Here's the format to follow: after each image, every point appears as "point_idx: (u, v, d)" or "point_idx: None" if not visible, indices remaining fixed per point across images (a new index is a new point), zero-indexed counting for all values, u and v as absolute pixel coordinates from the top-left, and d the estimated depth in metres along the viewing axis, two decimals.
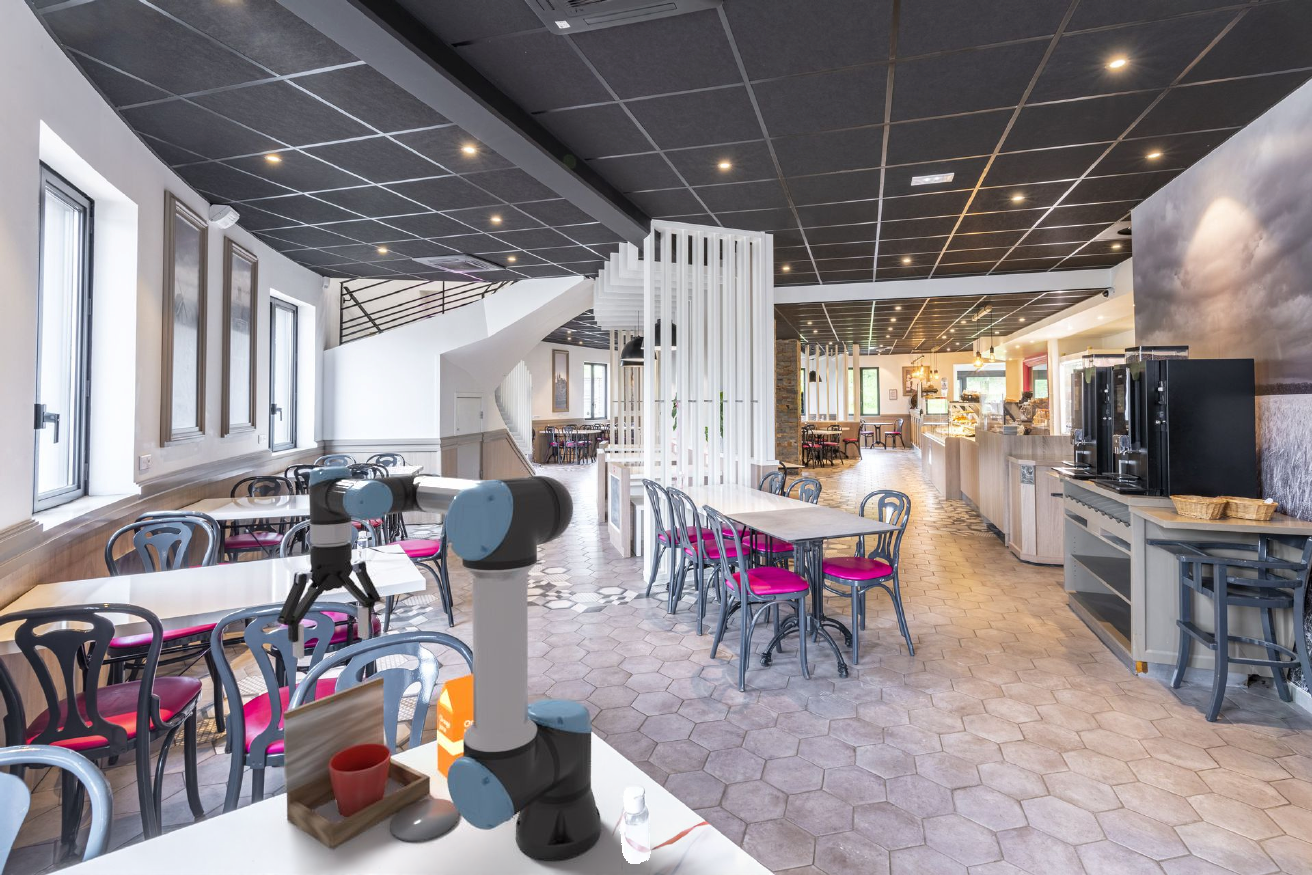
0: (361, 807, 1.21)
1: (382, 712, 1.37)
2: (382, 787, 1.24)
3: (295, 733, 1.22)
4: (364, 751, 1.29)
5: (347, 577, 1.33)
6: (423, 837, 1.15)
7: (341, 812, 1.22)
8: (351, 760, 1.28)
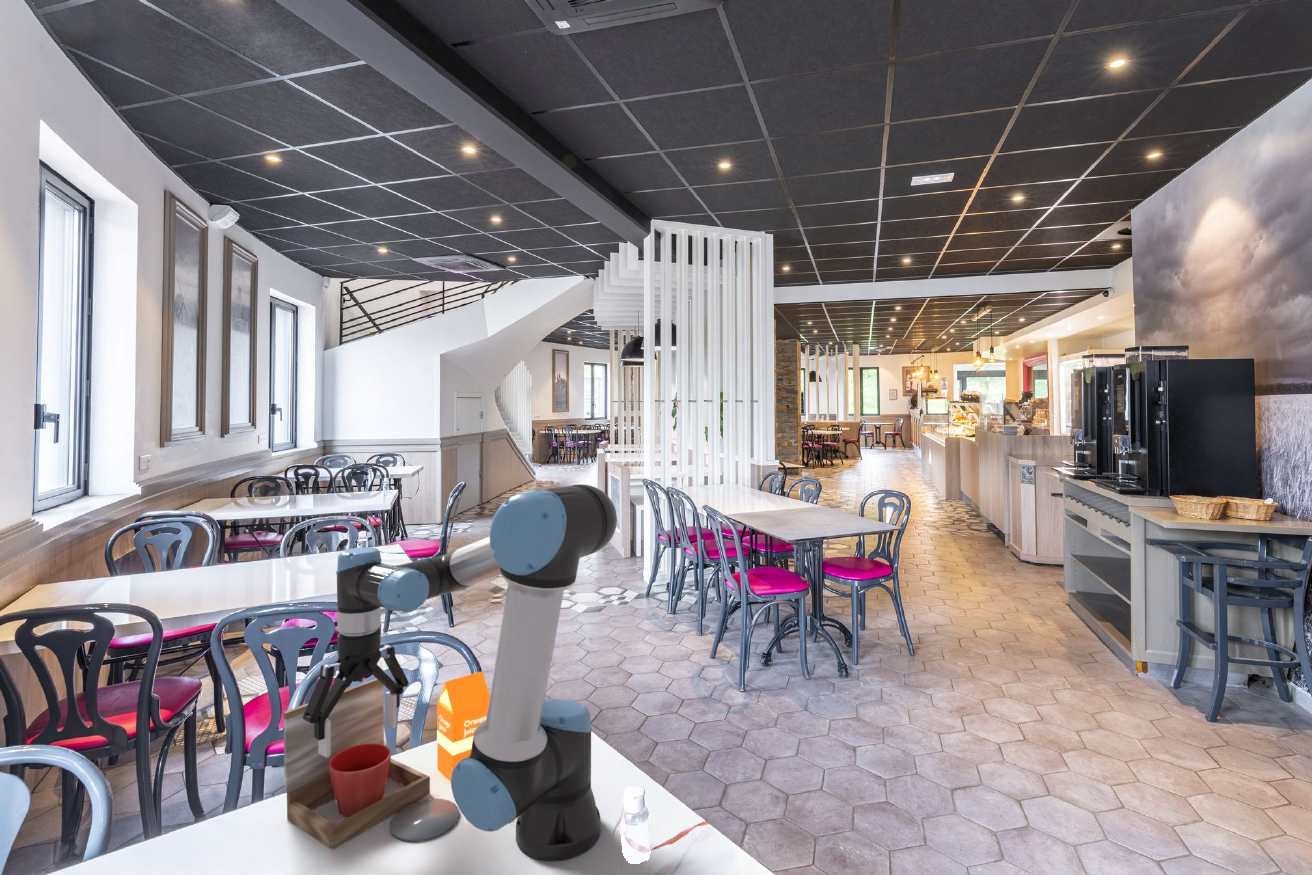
0: (361, 807, 1.21)
1: (382, 712, 1.37)
2: (382, 787, 1.24)
3: (295, 733, 1.22)
4: (364, 751, 1.29)
5: (375, 665, 1.25)
6: (423, 837, 1.15)
7: (341, 812, 1.22)
8: (351, 760, 1.28)
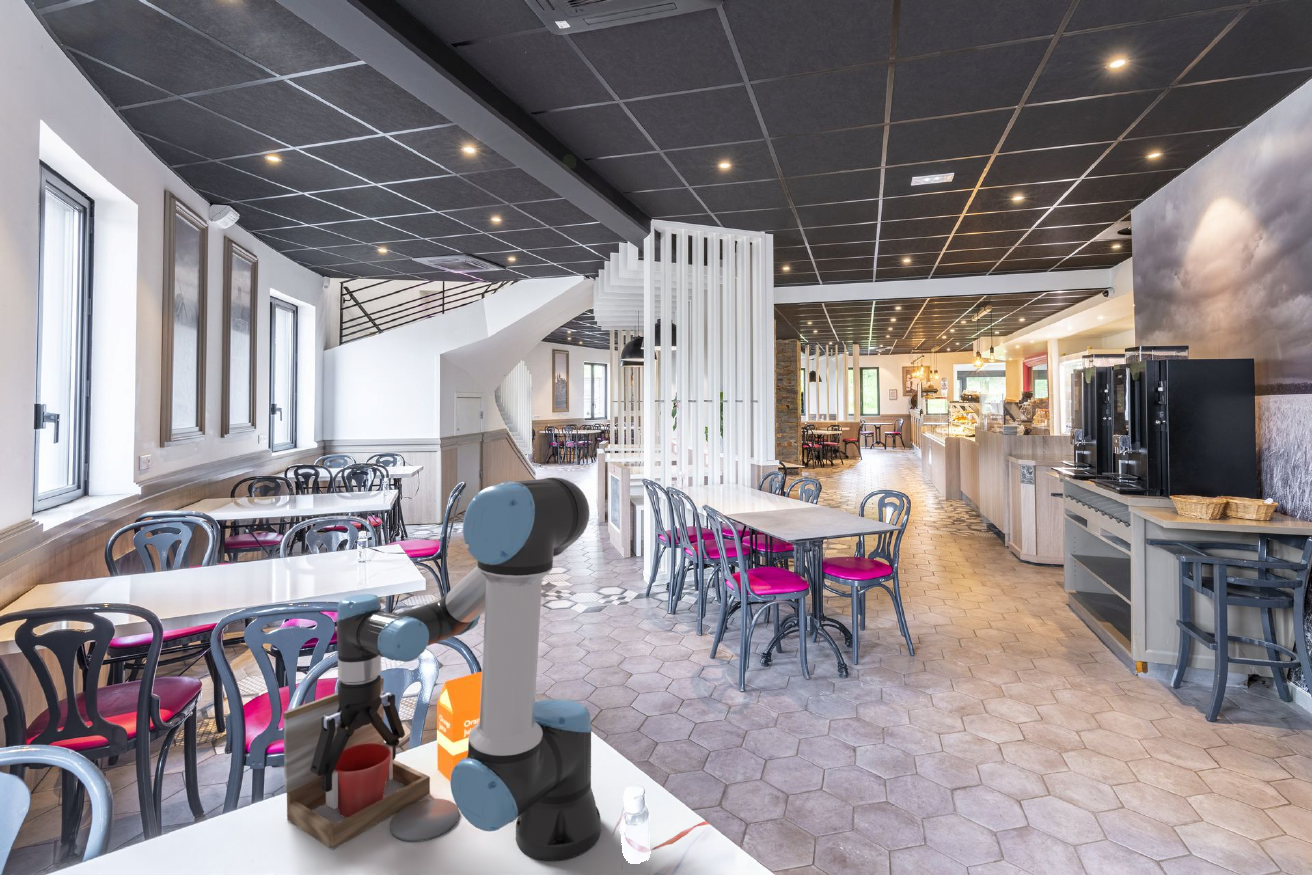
0: (361, 807, 1.21)
1: (382, 712, 1.37)
2: (382, 787, 1.24)
3: (295, 733, 1.22)
4: (364, 751, 1.29)
5: (376, 713, 1.25)
6: (423, 837, 1.15)
7: (341, 812, 1.22)
8: (351, 760, 1.28)
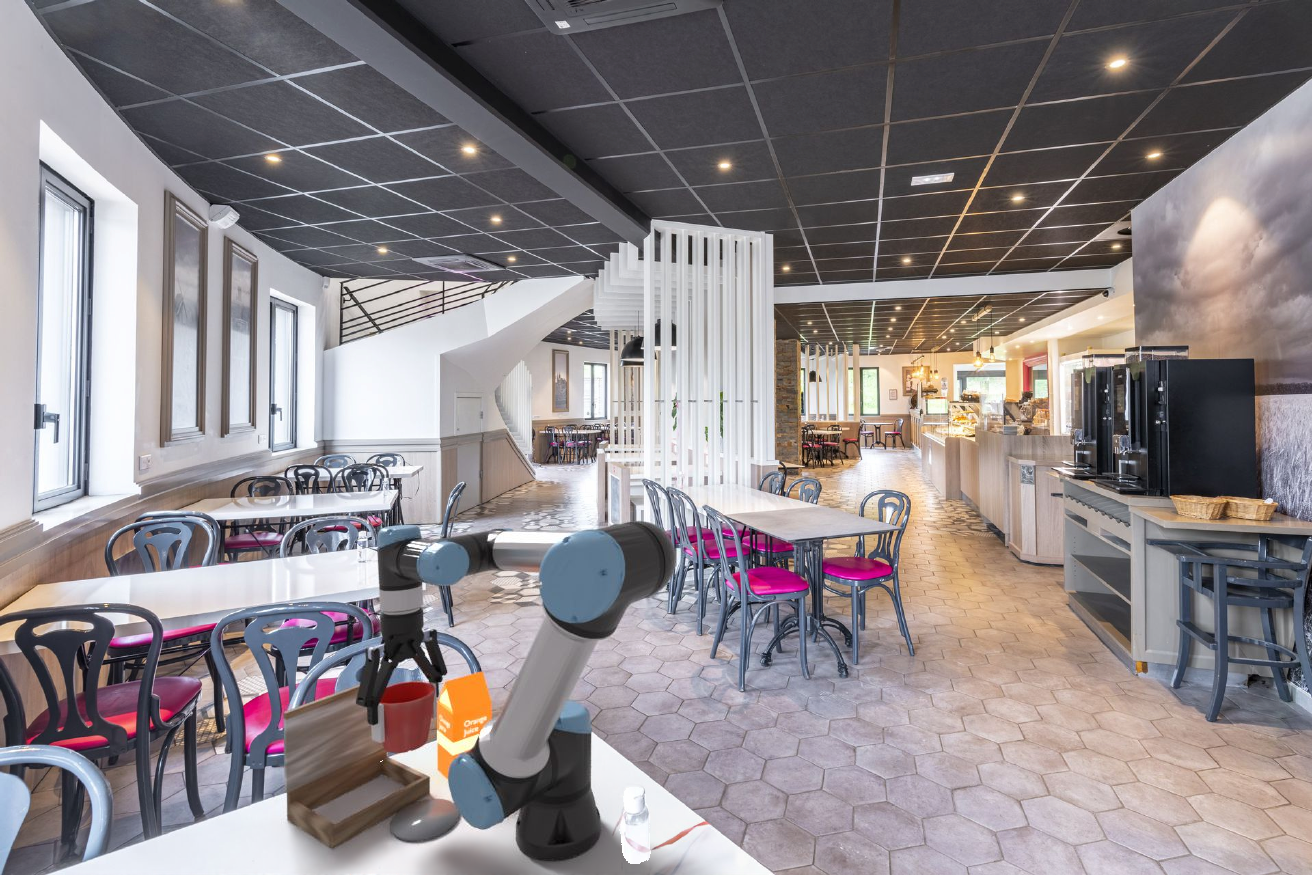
0: (408, 741, 1.17)
1: None
2: (428, 722, 1.20)
3: (295, 733, 1.22)
4: (406, 689, 1.25)
5: (419, 646, 1.22)
6: (423, 837, 1.15)
7: (387, 748, 1.18)
8: (394, 698, 1.24)
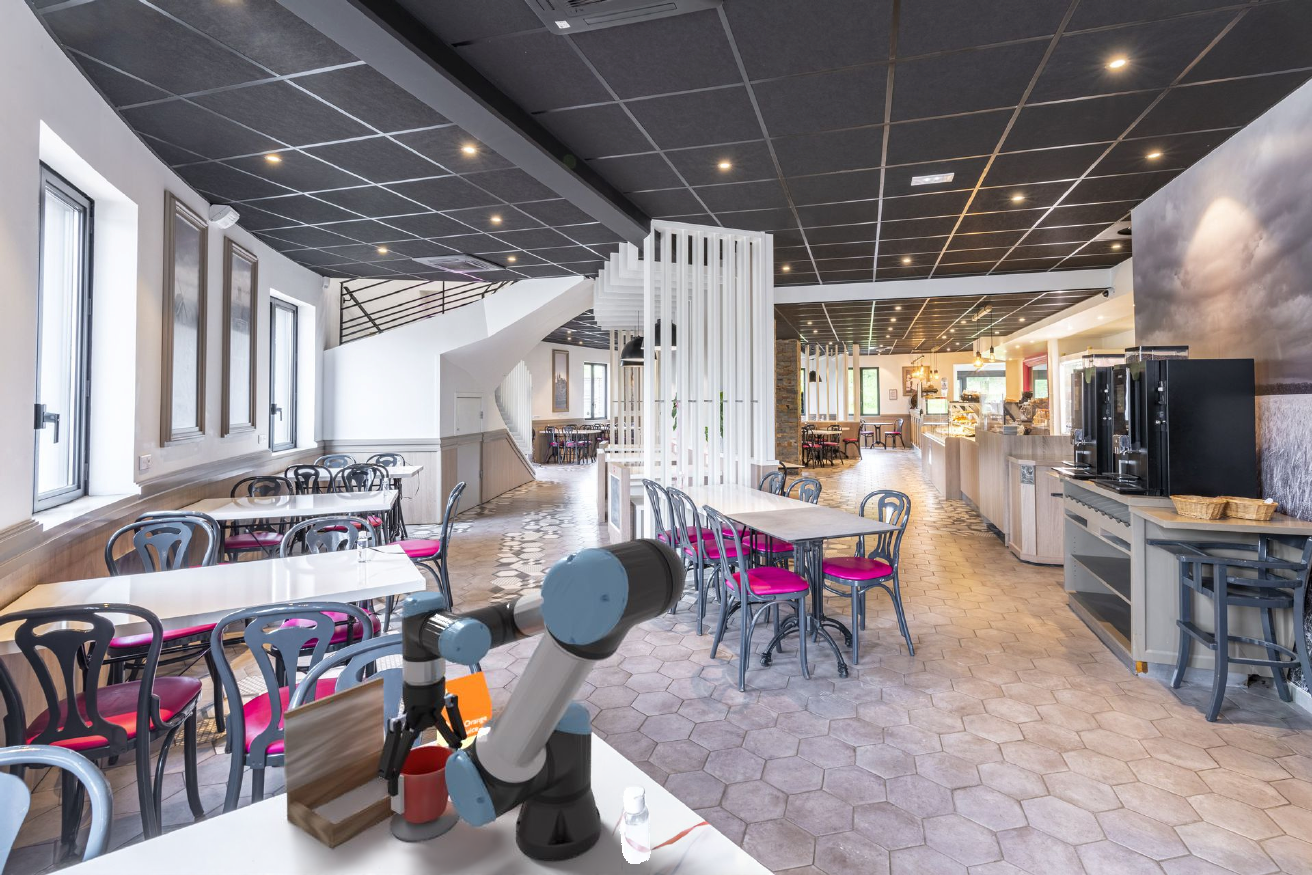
0: (427, 812, 1.17)
1: (382, 712, 1.37)
2: (447, 791, 1.20)
3: (295, 733, 1.22)
4: (426, 753, 1.25)
5: (440, 715, 1.21)
6: (423, 837, 1.15)
7: (406, 817, 1.17)
8: (413, 762, 1.24)
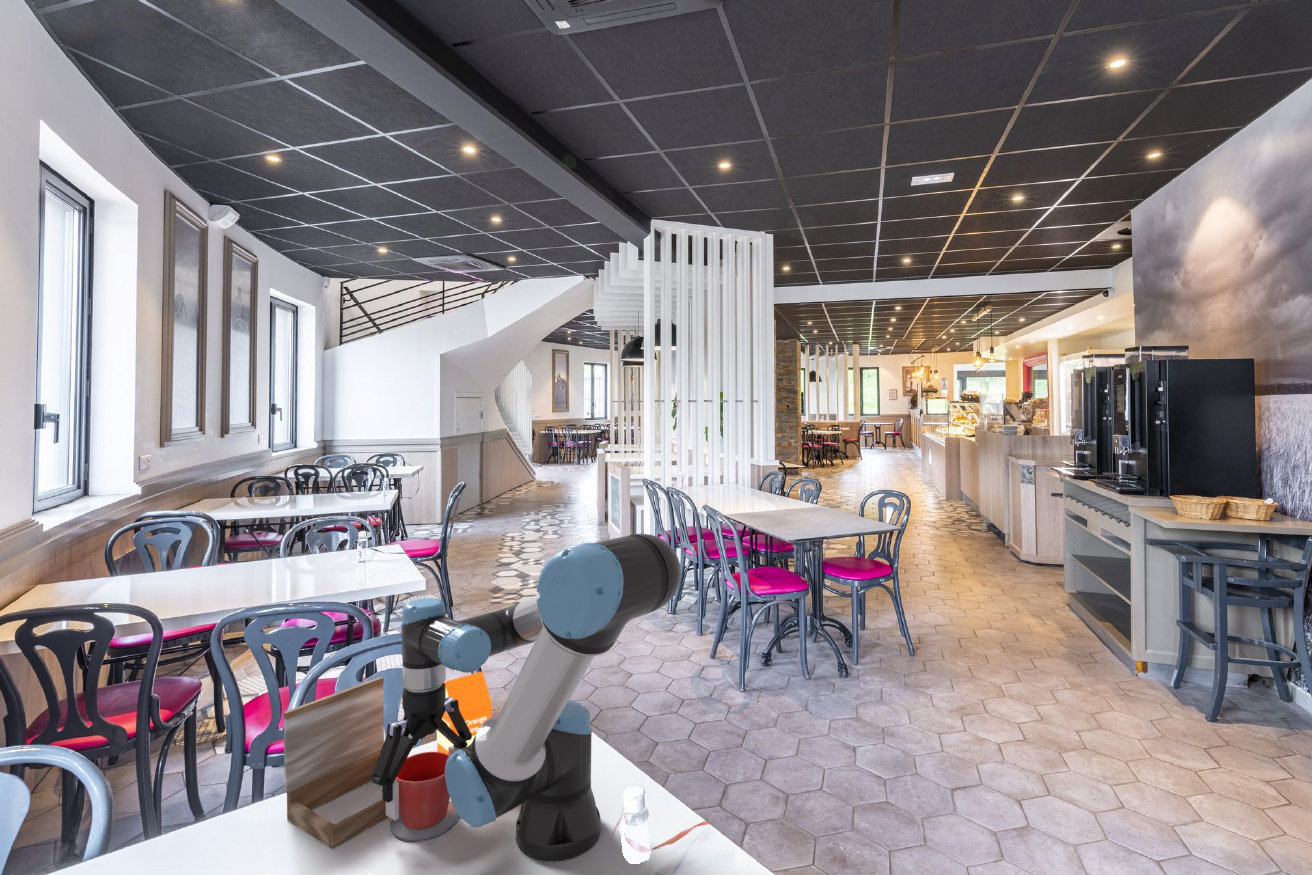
0: (427, 818, 1.17)
1: (382, 712, 1.37)
2: (447, 797, 1.20)
3: (295, 733, 1.22)
4: (426, 759, 1.25)
5: (441, 720, 1.21)
6: (423, 837, 1.15)
7: (406, 823, 1.17)
8: (414, 769, 1.24)
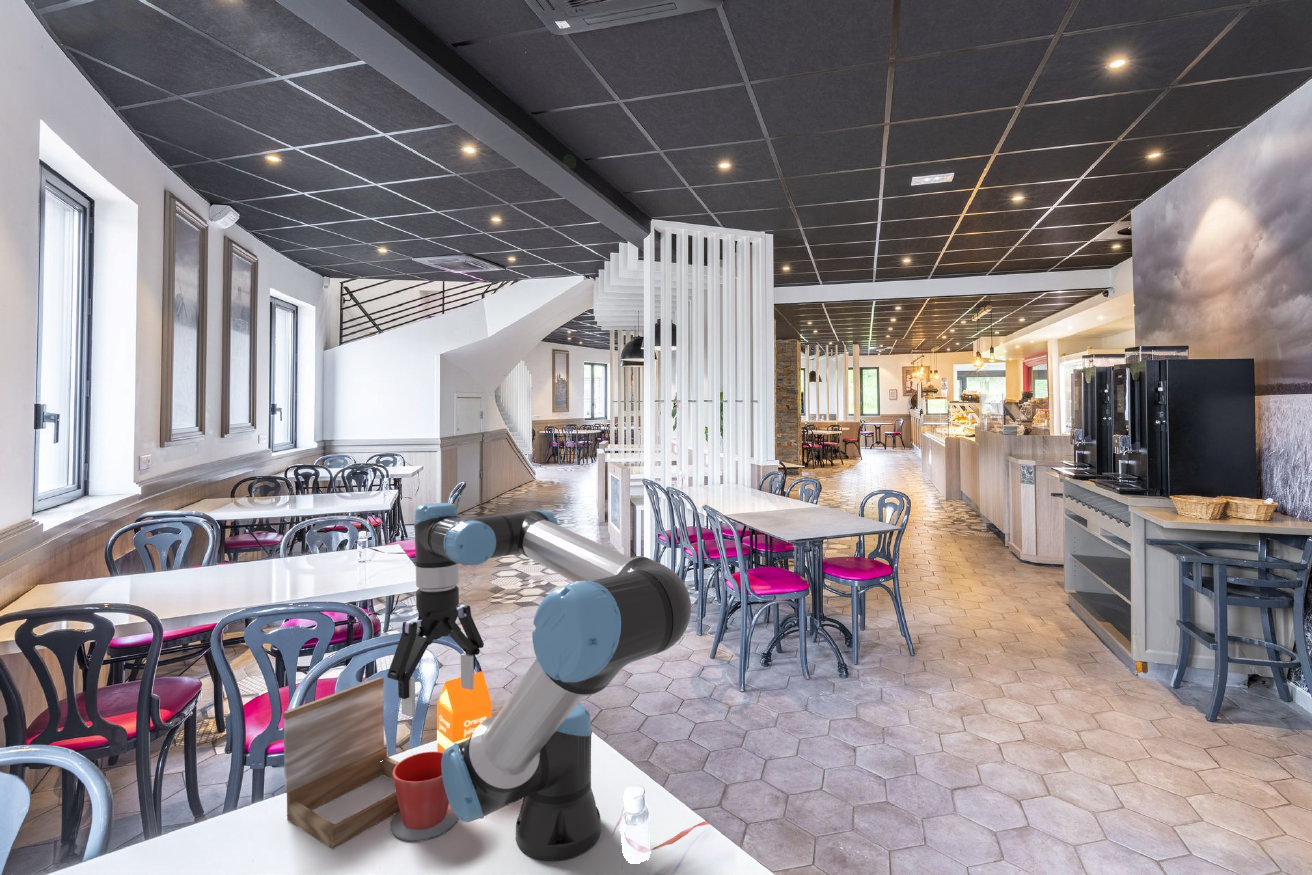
0: (427, 818, 1.17)
1: (382, 712, 1.37)
2: None
3: (295, 733, 1.22)
4: (426, 759, 1.25)
5: (454, 623, 1.22)
6: (423, 837, 1.15)
7: (406, 823, 1.17)
8: (414, 769, 1.24)
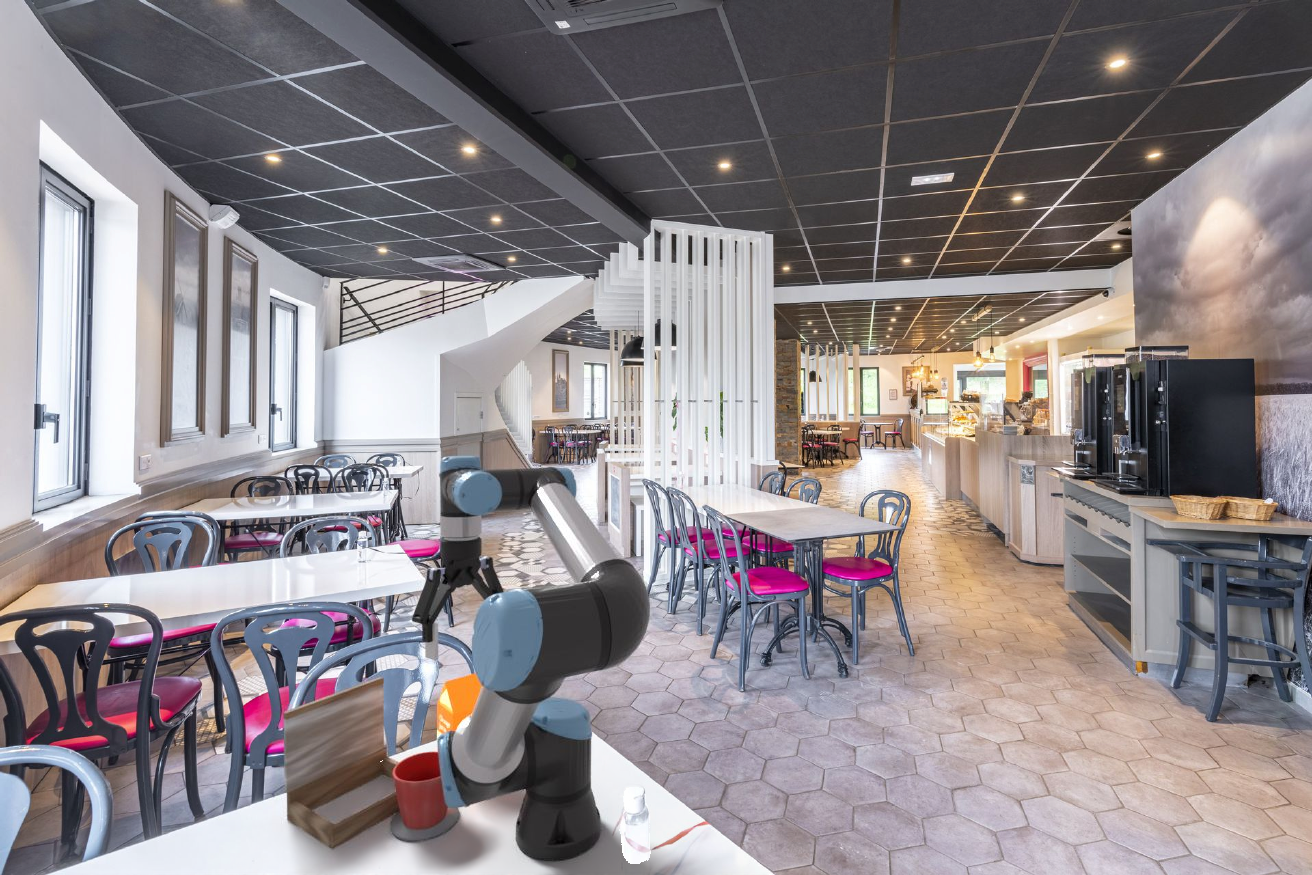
0: (427, 818, 1.17)
1: (382, 712, 1.37)
2: None
3: (295, 733, 1.22)
4: (426, 759, 1.25)
5: (477, 573, 1.25)
6: (423, 837, 1.15)
7: (406, 823, 1.17)
8: (414, 769, 1.24)
